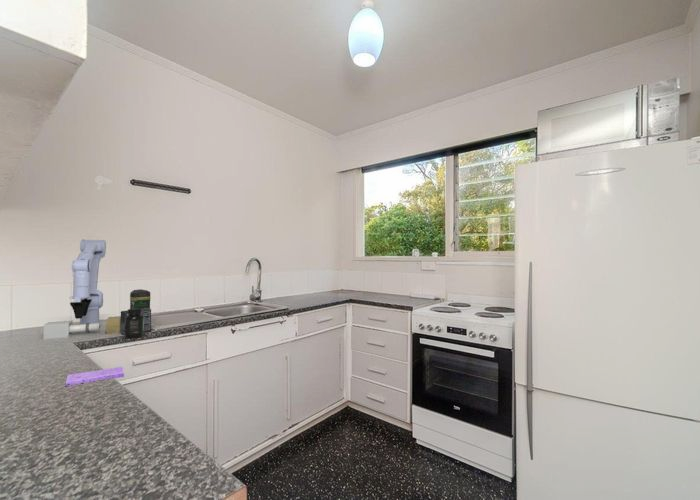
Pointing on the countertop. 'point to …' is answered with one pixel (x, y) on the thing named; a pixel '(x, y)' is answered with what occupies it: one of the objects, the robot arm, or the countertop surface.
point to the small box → (147, 320)
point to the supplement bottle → (134, 323)
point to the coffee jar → (140, 299)
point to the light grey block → (57, 330)
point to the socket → (113, 325)
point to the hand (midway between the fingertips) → (81, 317)
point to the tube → (84, 327)
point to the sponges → (94, 376)
